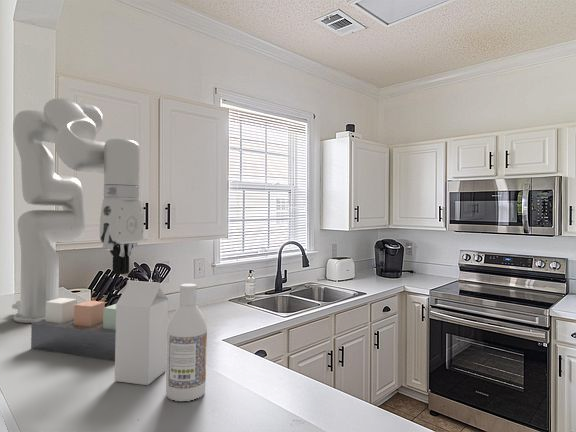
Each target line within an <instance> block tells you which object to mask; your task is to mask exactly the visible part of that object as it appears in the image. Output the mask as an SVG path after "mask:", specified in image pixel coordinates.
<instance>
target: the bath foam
mask: <svg viewBox="0 0 576 432" xmlns="http://www.w3.org/2000/svg"><path fill="white" fill-rule="evenodd" d="M197 287H198V286H197V284H196V283H182V284H180V286H179V305H178V307H177V308H176V310H175V311H174V313H173V314H172V316H171V318H170V320H169V323H168V325H167V360H166V371H165V372H166V374H165V375H166V380H165V381H166V383H165V384H166V386H165V387H166V388H165V394H166V397H167V398H168V399H170V400H171V401H173V400H175V401H174V402H177V401H188V402H191V401H190V400H193V401H195V400H194V399H196V398H198V399H200V398H201V397H203V396H204V394H205V393H206V380H207V379H206V378H207V375H206V373H207V345H208V344H207V343H208V341H207V338H208V329H207V322H206V318H205V317H204V314H203V312H202V311H201V310H200V308H199V306H198V305H197V290H198V289H197ZM199 397H200V398H199ZM196 400H197V399H196Z"/></svg>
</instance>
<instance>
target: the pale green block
mask: <svg viewBox="0 0 576 432" xmlns="http://www.w3.org/2000/svg"><path fill="white" fill-rule="evenodd" d="M116 304H117V303H115V304H112V305H108V306H105V308H104V312H103V328H104V329H112V330H116Z"/></svg>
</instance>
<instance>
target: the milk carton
mask: <svg viewBox="0 0 576 432" xmlns="http://www.w3.org/2000/svg"><path fill="white" fill-rule="evenodd" d="M115 304H116V339H115V361H114V382H120V383H128V384H135V385H142V386H149V385H150V384H151V383H153V381H155V380H157V378H158V377H160V376H161V375H162V374H164V373H165V372H166V371H167V332H168V313H169V311H168V310H169V299H168V297H167V296H166V295H165V293H164V292H163V290H162V289H161V283H160V282H157V281H156V282H154V281H142V280H141V281H139V280H129V279H128V280H126V287H125V289H124V290H123V292H122V293H121V295H120V297H119V299H118V300H117V302H116V303H115Z"/></svg>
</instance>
